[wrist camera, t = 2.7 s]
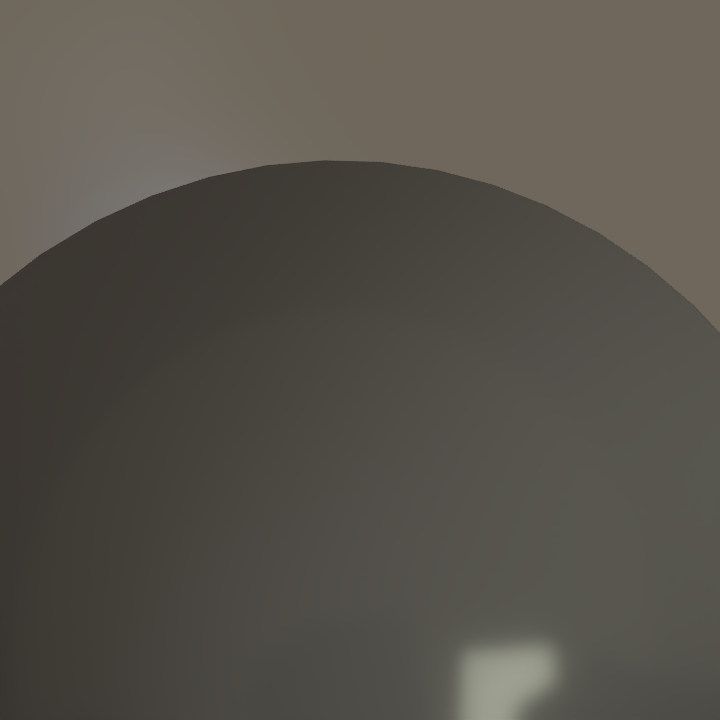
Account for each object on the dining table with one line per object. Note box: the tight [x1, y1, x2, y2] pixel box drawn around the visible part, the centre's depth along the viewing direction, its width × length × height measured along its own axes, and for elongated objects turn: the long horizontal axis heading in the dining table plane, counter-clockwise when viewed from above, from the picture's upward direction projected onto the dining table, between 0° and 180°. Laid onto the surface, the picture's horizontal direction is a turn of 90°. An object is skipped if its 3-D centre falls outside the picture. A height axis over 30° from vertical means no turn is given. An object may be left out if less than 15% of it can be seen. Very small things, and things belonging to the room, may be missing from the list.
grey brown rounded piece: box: [0, 161, 720, 720], centre depth 10 cm, size 7×7×12 cm
